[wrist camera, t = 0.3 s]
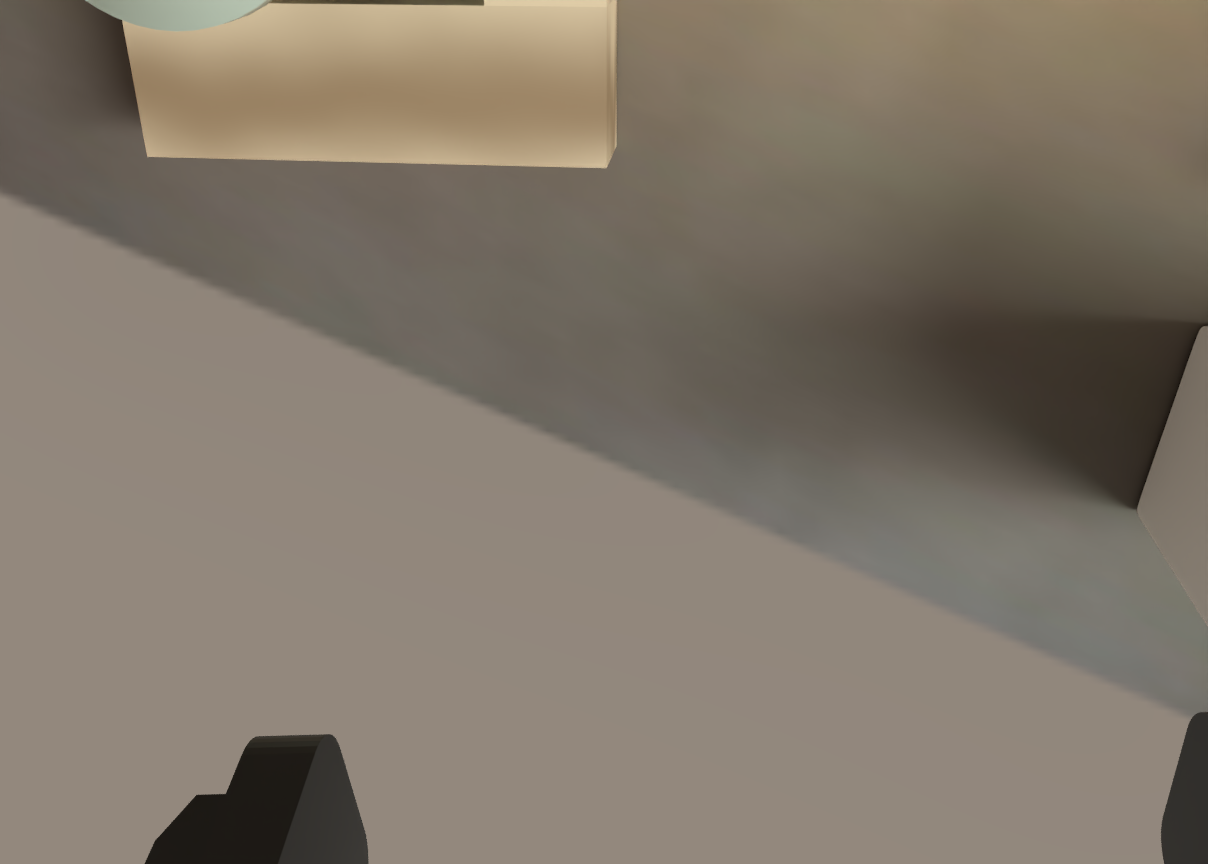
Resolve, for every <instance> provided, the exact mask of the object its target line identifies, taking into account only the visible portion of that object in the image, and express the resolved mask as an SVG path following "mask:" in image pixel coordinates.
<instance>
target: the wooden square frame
mask: <svg viewBox="0 0 1208 864" xmlns="http://www.w3.org/2000/svg"><path fill="white" fill-rule="evenodd" d="M122 23H123V28H124V34H125V39H126V44H127V50H128V55H129V61H130V66H131V71H132V77H133V82H134V88H135V93H136V98H137V104H138V109H139V114H140V120H141V125H142V131H143V136H144V141H145V147H146V152H147V157H179V158H219V159H260V160H300V161H341V162H381V163H421V164H462V165H502V166H543V167H583V168H607V166H608V164H609V161H610V159H611V157H612V155H613V152H614V150H615V148H616V146H617V0H272V1H271V2H270V3H268V4H267V5H266V6H264V7H262V8H261V9H259V10H257V11H255V12H254V13H252V14H250V15H248V16H245V17H242V18H240V19H237V20H234V21H232V22H228V23H225V24H221V25H218V26H214V27H210V28H205V29H200V30H194V31H177V32H176V31H164V30H155V29H151V28H146V27H142V26H137V25H134V24H131V23H129V22H126V21H123V20H122Z"/></svg>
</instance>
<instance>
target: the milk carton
mask: <svg viewBox="0 0 1208 864" xmlns="http://www.w3.org/2000/svg"><path fill="white" fill-rule="evenodd" d="M1137 514H1138V516H1139V518H1140V519H1141V521H1142V522H1143V524H1144V526H1145V527H1146V529H1147V530H1148V532H1149V534H1150V535H1151V537H1152V538H1153V540H1154V542H1155V543H1156V545H1157V546H1158V548H1159V550H1160V551H1161V553H1162V554H1163V556H1164V558H1165V559H1166V561H1167V563H1168V564H1169V566H1170V567H1171V569H1172V571H1173V572H1174V574H1175V575H1176V577H1177V579H1178V580H1179V582H1180V583H1181V585H1182V587H1183V588H1184V590H1185V591H1186V593H1187V595H1188V596H1189V598H1190V599H1191V601H1192V603H1193V604H1194V606H1195V607H1196V609H1197V611H1198V612H1199V614H1200V615H1201V617H1202V619H1203V620H1204V622H1205V623H1206V625H1207V627H1208V326H1204V327H1202V328H1201V329H1200V330H1199V333H1198V335H1197V337H1196V340H1195V343H1194V345H1193V348H1192V351H1191V354H1190V357H1189V360H1188V363H1187V365H1186V368H1185V371H1184V374H1183V377H1182V380H1181V383H1180V385H1179V388H1178V391H1177V394H1176V397H1175V400H1174V403H1173V405H1172V408H1171V411H1170V414H1169V417H1168V420H1167V423H1166V426H1165V428H1164V431H1163V434H1162V437H1161V440H1160V443H1159V446H1158V448H1157V451H1156V454H1155V457H1154V460H1153V463H1152V466H1151V469H1150V471H1149V474H1148V477H1147V480H1146V483H1145V486H1144V489H1143V492H1142V494H1141V497H1140V501H1139V504H1138V507H1137Z"/></svg>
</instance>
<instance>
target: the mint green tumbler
mask: <svg viewBox="0 0 1208 864" xmlns="http://www.w3.org/2000/svg"><path fill="white" fill-rule="evenodd" d="M85 1H87V2H88V3H90V4H91V5H93V6H94V7H96V8H98V9H100V10H102V11H104V12H106V13H107V14H109V15H111V16H113V17H115V18H118V19H120V20H123V21H126V22H129V23H131V24H134V25H137V26H142V27H146V28H151V29H155V30H164V31H176V32H177V31H194V30H200V29H205V28H210V27H214V26H218V25H221V24H225V23H228V22H232V21H234V20H237V19H240V18H242V17H245V16H248V15H250V14H252V13H254V12H255V11H257V10H259V9H261V8H262V7H264V6H266V5H267V4H268V3H270V2H271V1H272V0H85Z"/></svg>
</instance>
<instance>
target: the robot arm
mask: <svg viewBox="0 0 1208 864" xmlns="http://www.w3.org/2000/svg"><path fill="white" fill-rule="evenodd" d="M1161 843H1162V852H1163V859H1164V864H1208V712H1200V713H1197V714H1195V715H1194V716H1193V717H1192V719H1191V721H1190V723H1189V725H1188V728H1187V732H1186V735H1185V739H1184V743H1183V746H1182V750H1181V754H1180V757H1179V761H1178V765H1177V768H1176V772H1175V776H1174V779H1173V783H1172V786H1171V790H1170V794H1169V797H1168V801H1167V804H1166V808H1165V812H1164V815H1163V820H1162V827H1161ZM145 864H368V847H367V839H366V834H365V830H364V827H363V823H362V820H361V817H360V813H359V810H358V807H357V803H356V800H355V797H354V793H353V790H352V786H351V783H350V780H349V777H348V773H347V770H346V766H345V763H344V760H343V757H342V753H341V750H340V747H339V744H338V742H337V740H336V738H335V737H334V736H333V735H330V734H326V735H293V736H292V735H290V736H259V737H255V738H253V739H252V740H251V741H250V742H249V743H248V744H247V746H246V747H245V749H244V751H243V754H242V756H241V758H240V761H239V763H238V766H237V768H236V770H235V773H234V775H233V778H232V780H231V783H230V785H229V788H228V790H227V793H226V794H216V795H215V794H214V795H213V794H212V795H196V796H195V797H194V799H193V800H192V801H191V802H190V803H189V804H188V805H187V806H186V807H185V808H184V810H183V811H182V812H181V813H180V814H179V815H178V816H177V817H176V818H175V820H174V821H173V822H172V823H171V824H170V825H169V826H168V827H167V828H166V829H165V831H164V832H163V833H162V834H161V835H160V836H159V837H158V838H157V839H156V841H155V842H154V844H153V847H152V849H151V851H150V853H149V855H148V858H147V860H146V862H145Z"/></svg>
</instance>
